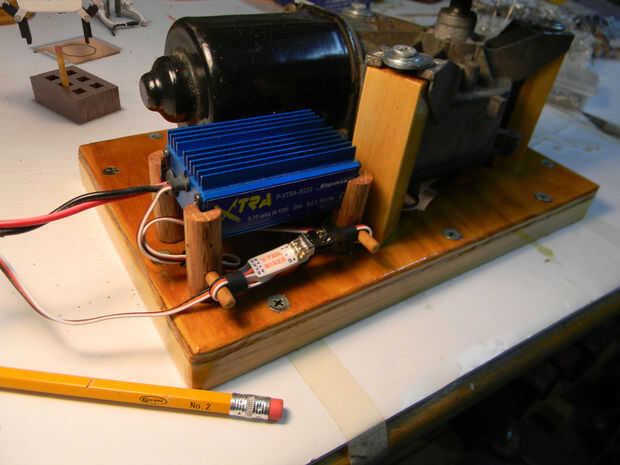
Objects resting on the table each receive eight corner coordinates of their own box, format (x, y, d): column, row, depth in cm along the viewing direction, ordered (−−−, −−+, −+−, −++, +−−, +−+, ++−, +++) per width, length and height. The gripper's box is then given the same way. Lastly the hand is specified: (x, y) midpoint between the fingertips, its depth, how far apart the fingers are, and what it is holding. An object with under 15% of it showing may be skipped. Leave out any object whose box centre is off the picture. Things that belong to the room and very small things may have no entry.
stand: (81, 128, 92) (75, 100, 89) (36, 104, 97) (29, 76, 93) (121, 113, 99) (118, 86, 95) (77, 91, 104) (72, 64, 100)
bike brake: (83, 10, 141) (113, 43, 133) (81, -14, 136) (112, 19, 128) (127, 7, 149) (158, 38, 141) (127, -15, 144) (159, 16, 136)
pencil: (70, 114, 96) (56, 47, 88) (66, 112, 97) (52, 45, 88) (75, 112, 97) (62, 45, 88) (71, 110, 97) (58, 43, 89)
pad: (66, 67, 112) (65, 64, 112) (33, 52, 116) (33, 49, 116) (120, 52, 123) (120, 50, 123) (89, 39, 127) (88, 36, 127)
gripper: (-29, -64, 71) (4, 50, 82) (95, -57, 78) (110, 48, 89) (-24, -74, 76) (6, 35, 87) (92, -66, 83) (107, 34, 94)
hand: (59, 41), depth 88 cm, fingers open, 9 cm apart
